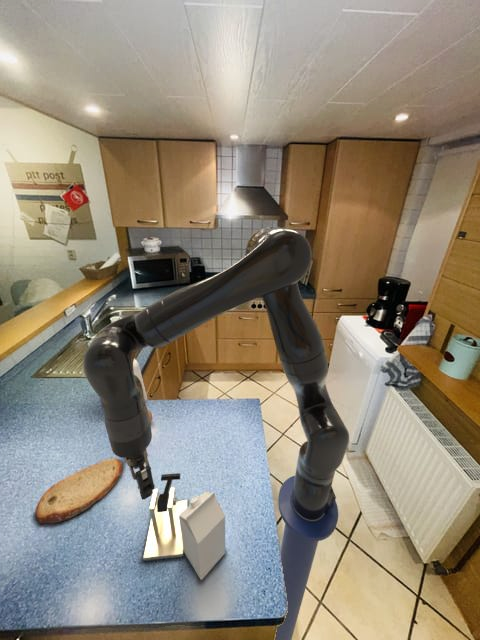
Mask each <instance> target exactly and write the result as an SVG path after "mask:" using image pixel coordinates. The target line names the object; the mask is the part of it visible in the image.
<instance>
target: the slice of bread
mask: <svg viewBox="0 0 480 640" xmlns="http://www.w3.org/2000/svg"><path fill="white" fill-rule="evenodd" d="M122 473H123V462H122V461H121V460H119V459H117V458H109V459H105V460H102V461H99V462H97V463H94V464H93V465H90V466H87V467H85V468H83V469H80V470H79V471H77V472H76V471H75V472H74V473H72V474H70V475H68V476H67V477H64V478H63V479H62V480H59V481H57V482H56V483H54V484H52V486H50V487H49V488H48V489H47V490H46V491H45V492H44V493H43V495H42V496H41V498H39V501H38V503H37V505H36V508H35V518H36V520H37V521H38V522H39V523H40V524H47V523H60V522H63V521H67V520H70V519H71V518H73V517H76V516H78V515H79V514H81V513H83V512H85V511H86V510H88V509H90V508H91V507H93V505H94V504H95V503H97V502H98V501H101V500H102V499H103V498H104V497H105V496H106V495H107V494H108V493H109V492H110V491H111V490H112V489H113V488H114V487H115V485H116V484H117V483H118V481H119V479H120V477H121V475H122Z"/></svg>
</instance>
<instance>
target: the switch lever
mask: <svg viewBox="0 0 480 640" xmlns="http://www.w3.org/2000/svg"><path fill="white" fill-rule="evenodd" d="M160 480H161V482H165V481H166V483H165V487H164V490H163V492H162V493H159V498H158V501H157V512H167V509H168V501H169V495H170V488H172V484H173V481H175V480H181V472H179V473H166V474H161V477H160Z"/></svg>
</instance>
